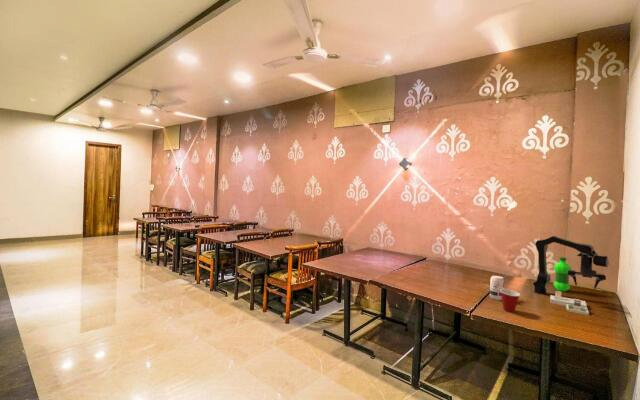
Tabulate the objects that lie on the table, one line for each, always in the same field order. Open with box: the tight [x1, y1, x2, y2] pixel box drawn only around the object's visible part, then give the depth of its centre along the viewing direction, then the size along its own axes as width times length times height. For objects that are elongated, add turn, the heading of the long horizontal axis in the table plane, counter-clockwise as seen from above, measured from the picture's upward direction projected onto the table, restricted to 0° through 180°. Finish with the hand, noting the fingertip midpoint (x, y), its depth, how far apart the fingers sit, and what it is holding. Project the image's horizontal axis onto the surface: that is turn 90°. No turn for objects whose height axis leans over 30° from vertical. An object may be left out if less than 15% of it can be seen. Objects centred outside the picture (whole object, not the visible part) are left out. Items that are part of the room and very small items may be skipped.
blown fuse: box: [573, 298, 581, 311], centre depth 189 cm, size 3×3×7 cm
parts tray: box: [565, 304, 590, 316], centre depth 189 cm, size 10×10×2 cm
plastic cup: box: [500, 288, 521, 313], centre depth 189 cm, size 11×11×12 cm
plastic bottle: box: [553, 256, 572, 293], centre depth 230 cm, size 10×10×25 cm
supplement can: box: [489, 275, 505, 301], centre depth 210 cm, size 8×8×15 cm
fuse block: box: [549, 294, 588, 308], centre depth 200 cm, size 18×10×4 cm, turn 54°
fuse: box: [554, 290, 562, 300], centre depth 202 cm, size 3×3×7 cm
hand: (585, 287), depth 200 cm, fingers open, 9 cm apart
